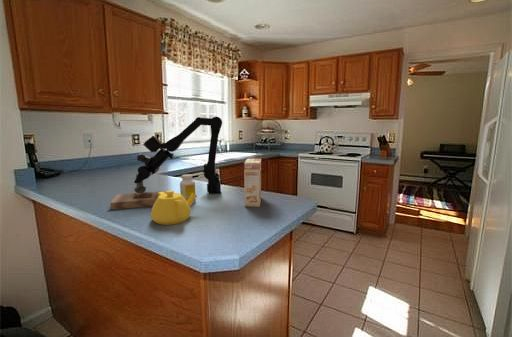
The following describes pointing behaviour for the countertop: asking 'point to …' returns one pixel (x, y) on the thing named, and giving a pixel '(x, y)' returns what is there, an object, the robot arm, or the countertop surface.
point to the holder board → (134, 200)
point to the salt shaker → (140, 187)
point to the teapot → (171, 208)
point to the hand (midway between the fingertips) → (138, 180)
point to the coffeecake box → (252, 182)
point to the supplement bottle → (187, 186)
